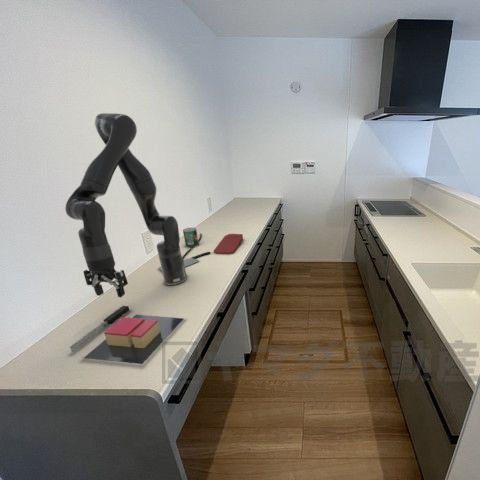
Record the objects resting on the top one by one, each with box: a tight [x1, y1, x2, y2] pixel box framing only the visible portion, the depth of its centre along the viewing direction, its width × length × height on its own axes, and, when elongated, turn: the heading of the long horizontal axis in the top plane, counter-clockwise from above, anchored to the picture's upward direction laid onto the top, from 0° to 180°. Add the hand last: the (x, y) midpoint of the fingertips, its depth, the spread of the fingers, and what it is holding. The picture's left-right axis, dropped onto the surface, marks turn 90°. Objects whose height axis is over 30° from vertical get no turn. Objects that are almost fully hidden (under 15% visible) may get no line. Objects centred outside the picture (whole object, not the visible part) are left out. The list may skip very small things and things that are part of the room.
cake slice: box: [131, 319, 160, 348], centre depth 89 cm, size 8×4×5 cm, turn 174°
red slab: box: [213, 233, 244, 255], centre depth 171 cm, size 12×5×25 cm
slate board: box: [83, 314, 184, 365], centre depth 92 cm, size 22×20×1 cm
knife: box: [69, 305, 130, 353], centre depth 95 cm, size 22×2×3 cm, turn 174°
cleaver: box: [158, 251, 211, 272], centre depth 148 cm, size 29×1×10 cm
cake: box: [103, 316, 145, 347], centre depth 90 cm, size 8×8×5 cm
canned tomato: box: [182, 227, 200, 249], centre depth 170 cm, size 8×8×11 cm
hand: (111, 295), depth 98 cm, fingers open, 8 cm apart
